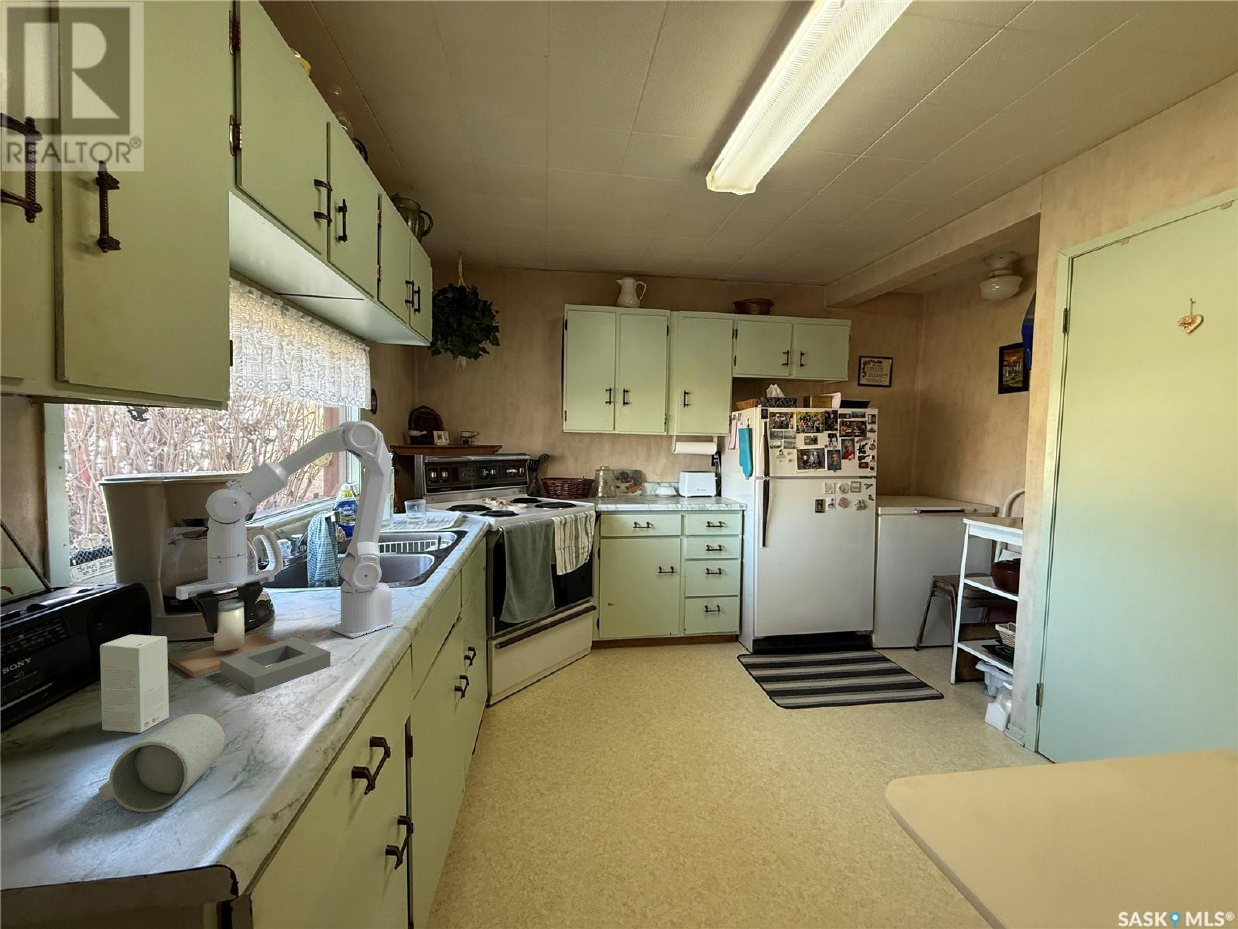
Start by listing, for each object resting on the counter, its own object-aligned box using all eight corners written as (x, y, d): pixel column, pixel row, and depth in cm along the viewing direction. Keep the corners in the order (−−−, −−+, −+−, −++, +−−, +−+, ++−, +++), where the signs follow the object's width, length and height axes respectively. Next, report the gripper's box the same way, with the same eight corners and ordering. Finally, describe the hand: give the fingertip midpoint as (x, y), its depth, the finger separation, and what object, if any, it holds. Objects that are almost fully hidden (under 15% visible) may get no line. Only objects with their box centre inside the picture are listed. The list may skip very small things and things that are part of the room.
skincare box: (170, 717, 73) (169, 636, 73) (139, 734, 69) (138, 648, 68) (132, 714, 74) (130, 633, 73) (99, 731, 70) (97, 645, 69)
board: (258, 637, 102) (258, 632, 102) (283, 649, 97) (283, 644, 97) (169, 662, 90) (169, 657, 90) (193, 677, 85) (193, 671, 85)
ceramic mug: (231, 762, 64) (229, 703, 63) (187, 809, 56) (185, 741, 55) (134, 771, 62) (132, 709, 61) (75, 821, 54) (71, 750, 53)
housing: (295, 649, 97) (294, 637, 97) (330, 665, 91) (330, 652, 91) (220, 673, 87) (220, 659, 86) (254, 693, 80) (254, 678, 80)
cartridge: (237, 639, 96) (236, 597, 96) (250, 644, 94) (249, 601, 94) (208, 647, 92) (207, 604, 92) (221, 653, 90) (220, 608, 90)
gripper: (187, 566, 84) (188, 646, 85) (282, 551, 97) (282, 621, 98) (170, 560, 88) (171, 636, 89) (263, 546, 100) (264, 613, 101)
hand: (228, 628), depth 93 cm, fingers closed on cartridge, 4 cm apart
